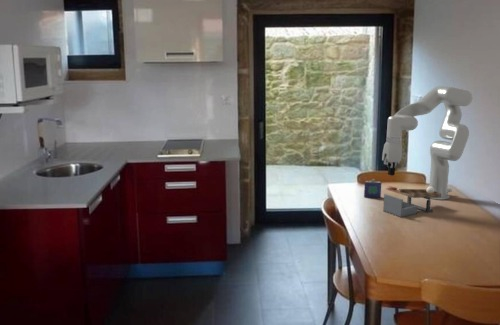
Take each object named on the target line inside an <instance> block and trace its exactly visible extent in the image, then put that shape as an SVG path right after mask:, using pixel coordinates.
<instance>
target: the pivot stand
mask: <svg viewBox="0 0 500 325" xmlns="http://www.w3.org/2000/svg"><path fill="white" fill-rule="evenodd" d="M431 202H432V199H430V200H428V199H426V206H425V207H423V206H421V205H417V204H414V203H412V197H409V196H407V201H406V203H409V204H412V205H416V206H418V207H417V211H420V212H423V213H427V214H428V213H432V212H433V209H431V205H432V204H431Z"/></svg>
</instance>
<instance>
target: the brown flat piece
mask: <svg viewBox="0 0 500 325" xmlns="http://www.w3.org/2000/svg"><path fill="white" fill-rule="evenodd" d="M426 189H427V188H416V189H415V188H399V189H398V187H396V186H391V185H388V186H387V185H386V188H385V190H387V191H389V192H393V193H396V194H399V195H403V196H405V197H408V196H409V197H411V199H415V198H416V199H420V198H421V199H425V200H432V198H441V193H438V192H435V191H434V193H427V191H426Z"/></svg>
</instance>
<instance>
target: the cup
mask: <svg viewBox="0 0 500 325" xmlns="http://www.w3.org/2000/svg"><path fill="white" fill-rule="evenodd" d="M412 204H413V203H411V204H409V203H407V201H406V202H405V201H404V199H403V198H400V197H396V196H392V195H391V194H390V195H389V194H387V193H384V194H383V208H382V209H383V210H382V211H383V212H384V213H386V212H387V213H388V214H389V213H390V214H389V215H392V214H393V216H395V215H396V217H397V218H398V217H399V218H404V217H409V216H414V215H417V214H418V210H417V207H418V206H419V205H418V206H416V205H417V204H414V205H412Z"/></svg>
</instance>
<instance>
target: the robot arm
mask: <svg viewBox="0 0 500 325" xmlns="http://www.w3.org/2000/svg"><path fill="white" fill-rule="evenodd" d="M472 102H473V94H472V92H471V91H470V90H466V89H463V88H462V89H461V88H456V87H453V86H442V85H441V86H440V85H438V86H434V87H433V88H432V89H431V90H429V91H428V92H427V93H425V95H424V96H423V97H422V98H420V99H418V101H415V102H412V103H410V104H408V105H406V106H404V107H402V108H400V109H399V110H398V111H397V112H395V114H393V115H391V116H389V117H388V118H387V124H386V126H387V129H386V139H385V140H386V141H385V143H384V144H383V149H382V154H381V156H382V157H381V161H383V165H386V166H387V175H389V176H391V177H393V176H395V171H396V168H397V166H398V165H399V164H401V161H402V158H403V143H402V140H403V138H402V135H403V131H409V132H410V131H414V130H415V129H416V128H417V127H418V125H419V120H418V119H417V118H416V117H419V116H423V115H427V114H430V113H431V112H432V111H433V110H435V109H436V108H437V107H438V106H439V105H441V103H442V104H444V108H445V114H444V118H443V120H442V123H441V125H440V129H439V136H440V137H441V138H442V139H444V140H448V141H444V140H435V141H434V142H432V144H431V145H430V148H429V154H430V172H429V173H430V174H429V182H428V183H429V185H428V187H430V186H431V187H433V188H434V191H435V192H438V193H441V198H431V200H438V201H440V200H442V201H443V200H449V199H450V197H451V196H450V195H449V193H451V192H452V191H453V189H452V188H448V185H449V172H450V164H449V161H451V162H457V161H458V160H460V159H461V157H462V155H463V154H464V150H465V148H466V145H467V142H468V139H469V136H470V130H469V129H470V128H469V127H468V126H467V125H466V124H462V123H461V120H462V116H463V115H462V114H463V113H462V109H461V107H467V106H470V104H472ZM450 141H451V142H450Z"/></svg>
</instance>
